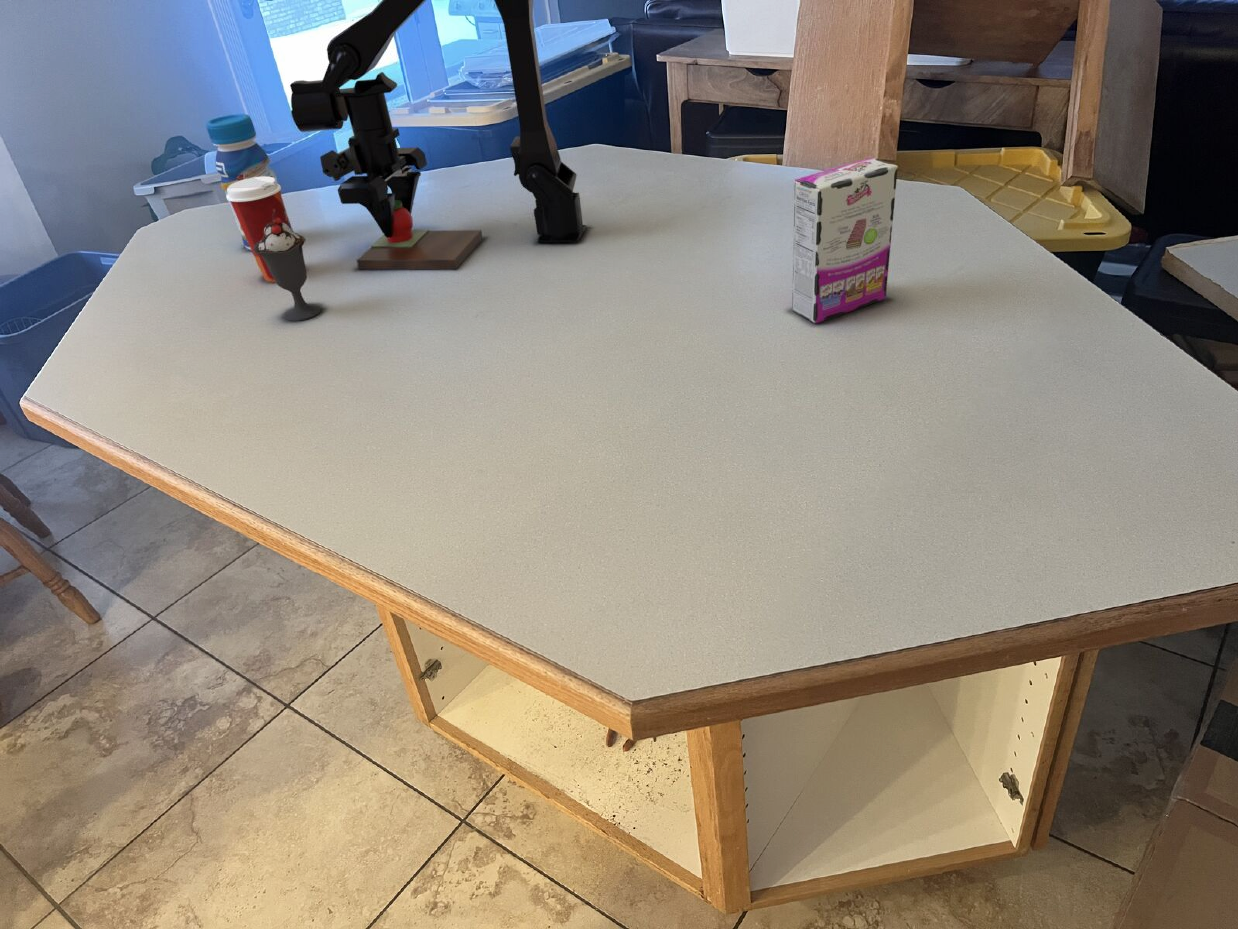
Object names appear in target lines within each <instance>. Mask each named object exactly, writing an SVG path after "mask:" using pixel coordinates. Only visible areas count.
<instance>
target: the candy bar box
mask: <svg viewBox="0 0 1238 929" xmlns="http://www.w3.org/2000/svg"><path fill="white" fill-rule="evenodd" d="M898 168H899V166H898V165H896V164H893V163H891V162H890V163H889V162H887V161H884V160H880V159H878V158H873V157H868V158H865V159H861V160H858V161H854V162H851V163H847V164H844V165H841V166H837V167H833V168H829V169H827V170H823V171H820V172H816V173H813V174H809V175H805V176H803V177H799V178H796V179H794V200H793V201H794V207H793V210H794V211H793V254H792V264H793V265H792V302H791V303H792V307H791V308H792V311H793V312H794V313H795V314H797V315H799V316H801V317H803V318H805V319H807V320H808V321H810V322H812V323H813V324H819V323H821V322H824V321H828V320H830V319H833V318H836V317H839V316H841V315H844V314H847V313H850V312H852V311H855V310H859V309H861V308H864V307H866V306H869V305H872V304H875V303H877V302H880V301H882V300H885V299H886V298H887V288H888V278H889V266H890V256H891V244H892V232H893V225H894V224H893V223H894V213H895V212H894V211H895V200H896V190H897V180H898Z"/></svg>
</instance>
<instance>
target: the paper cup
mask: <svg viewBox="0 0 1238 929" xmlns="http://www.w3.org/2000/svg"><path fill="white" fill-rule="evenodd" d="M281 190H282V186H281V185H280V184H279V183H278V180H277V181H276V180H275V179H274V178H273V177H267V176H264V177H254V178H249V179H244V180H241V181H238V182H235V183H233V184H231V185H230V186H229V187H228V188H227V193H228V195H227V196H226V200H227V201H228V200H229V201H230V202H231V204H232V206H233V209H234V211H235V213H236V216H237V218H238V220H239V223H240V225H241V227H242V229H243V232H244V234H245V236H246V239H247V241H248V243H249V246H250V248H251V250H250V251H251V253H252V254H253V257H254V259H255V261H256V264H257V266H258V268H259V271H260V273H261V275H262V277H263V279H264V280H265V281H266V282H269V283H276V281H275V280H274V278H273V276H272V274H271V272H270V270H269V268H268V266H267V264H266V262H265V261H264V259H263V257H262V256H261V255H259V254H255V253H254V250H253V249H254V246H255V244H257V243H258V242H260V241H261V240H262V239H263V237H264V229H265V227H266V225H267V223H271V222H272V213H273V209H275V210H276V213H275V214H274V213H273V214H274V217H275V218H280V219H281V222H283V223H285V224H286V225H287V226H288V227H289V228H290V225H289V222H288V218H289V217H288V218H287V215H288V213H287V214H286V212H287V210H286V211H285V209H286V206H285V203H284V204H283V202H284V200H282V199H283V196H282V193H281ZM284 206H285V207H284ZM274 217H273V219H274Z"/></svg>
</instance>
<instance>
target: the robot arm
mask: <svg viewBox="0 0 1238 929" xmlns="http://www.w3.org/2000/svg"><path fill="white" fill-rule="evenodd" d="M426 1H427V0H381V1H380V2H379V3H378V4H377V5H376V6H375V7H374V9H372V10H371V11H370V12H369V13H368V14H366V15H365V16H363V17H362V18H360V19H359V20H357V21H356V22H355V23H353V24H351V25H350V26H348V27H347V28H346V29H344V30H342V31H340V33H338V34H337V35H335V36H334V37H333V38H332V39H331V40H330V41H329V42H328V44H327V47H326V53H327V60H328V64H327V67H326V69H325V70H326V71H325V73H324V75H323V78H322V79H317V80H304V79H303V80H294V81H293V82H291V83H290V85H289V87H290V90H291V96H290V97H291V98H290V105H291V110H290V113H291V117H292V120H293V122H294V124H295V126H296V128H297V129H298V130H299V131H300V132H301V133H309V132H323V131H332V130H333V131H334V130H341V129H342V128H343V125H344V122H347V121H348V119H349V123H350V126H351V131H352V134H353V135H352V136H351V137H349V138H348V141H347V144H348V147H347V148H345V149H343V150H341V151H339V152H338V153H337V152H336V151H334V150H333V149H331V150H330V151H328V152H326V153H324V154H322V155H320V156H319V159H320V165H321V168H322V173H323V175H326V176H327V177H329V178H333V181H334V182H337V181H339V180H341V178H342V177H344V176H347V175H348V174H352V173H354V175H352V176H350V177H348V178H347V179H346V180H345V181H343V182H342V183H340V185H339V187H338V188H337V193H338V197H339V200H340V203H341V204H342V205H361V206H362V207H364V208H365V209H366V210H367V211H368V212H369V214H370V215H371V217H372V218H373V219H374V221H375V223H376V224H377V227H379V229H380V231H381V232H382V234H383V235H385V237H392V236H393V230H394V200H400V201H401V202H402V206H403V207H404V208H406V209H407V210H408V211H409V213H410V214H411V215H412V213H413V212H412V211H413V207H414V203H415V202H414V201H415V197H416V193H417V190H418V189H417V188H418V184H419V181H420V177H421V176H422V172H421V171H419V170H422V169H424V168H425V167H426V166H427V165H428V163H427V158H426V153H425V151H423V150H422V149H420V148H419V147H418V146H417V147H416V146H414V147H398V144H397V141H396V139H397V138H398V137H399V136H400V135H401V134H400V130H399V128H398V127H395V128H393V123H392V120H391V116H390V112H389V106H388V104H387V103H388V102H387V99H386V95H385V94H389V93H392V92H393V91H394V90H396V88H398V83H397V82H396V81H394V80H393V79H391V78H389V77H388V76H387V75H386V74H385V73H384V72H383V71H380V72H379V73H378V74H377V75H376V77H375V78H371V79H361V78H362V77H363V76H365V75H366V74H368V73H369V72H371V71H372V70H373V69H375V67H376V66H377V65H378V64H379V62H380V60H381V59H382V58H383V55H384V54H385V53H386V52H387V49H388V47H389V46H390V43H391V42H392V40H393V38H394V37H395V35H396V34H397V32H398V30H400V28H401V27H403V25H404V24H405V23H406V22H407V21H408V20H409V19H410V18H411V17H412V16H413V15H414V14H415V13H416V12H417V10H419V9H420V8H421V6H423V5H424V4H425V3H426ZM493 1H494V4H495V6H496V8H497V11H498V13H499V15H500V17H501V20H502V23H503V28H504V34H505V41H506V47H507V53H508V60H509V64H510V65H509V66H510V71H511V77H512V84H513V91H514V92H513V93H514V97H515V98H514V99H515V104H516V110H517V111H516V112H517V117H518V122H519V130H520V131H519V136H515V137H514V139H513V141H512V143H511V144H510V146H509V148H510V149H509V150H510V153H511V156H512V161H513V163H514V172H513V176H514V177H516V176H518V180H519V183H520V185H521V186H522V188H524V189H525V190H527V191H528V192H529V193H531V194H532V195H533V197H534V199H535V206H536V207H535V208H534V209H533V215H534V222H535V223H534V224H535V228H536V234H537V235H538V238H537V243H538V244H539V243H540V244H553V243H554V244H556V243H558V244H559V243H561V244H562V243H568V244H569V243H578V242H579V241H580V240H581V238H582V236H583V234H584V233H585V231H586V230H587V225H586V224H584V223H583V213H582V205H581V197H580V192H574V189H575V184H576V180H577V176H578V174H577V172H575V171H574V170H572V169H571V168H570V167H569V166H568V165H566V163H564V162H563V161H562V159H561V155H560V153H559V149H558V146H557V143H556V140H555V137H554V134H553V132H552V130H551V127H550V125H549V123H548V119H547V111H546V104H545V98H544V97H545V96H544V90H543V84H542V75H541V69H540V63H539V61H540V60H539V54H538V48H537V47H538V46H537V40H536V33H535V27H534V19H533V18H534V17H533V10H534V0H493ZM359 79H360V80H359ZM350 81H355V82H354V86H353V87H347V88H342V87H343V86H344V85H345V84H347V83H348V82H350ZM411 166H412V167H413V166H414V168H415V169H416V170H418V171H413V168H412V167H411ZM389 189H390V190H391V191H390V192H389Z"/></svg>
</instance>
